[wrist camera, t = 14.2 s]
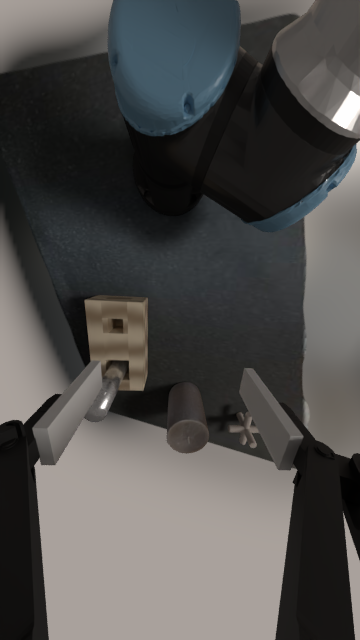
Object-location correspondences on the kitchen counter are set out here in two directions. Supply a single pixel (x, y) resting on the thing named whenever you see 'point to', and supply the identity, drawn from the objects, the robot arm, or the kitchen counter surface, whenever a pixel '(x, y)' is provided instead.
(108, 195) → the kitchen counter surface
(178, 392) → the pillar candle
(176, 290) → the kitchen counter surface
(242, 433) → the pipe connector
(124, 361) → the pin
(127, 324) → the hole block
